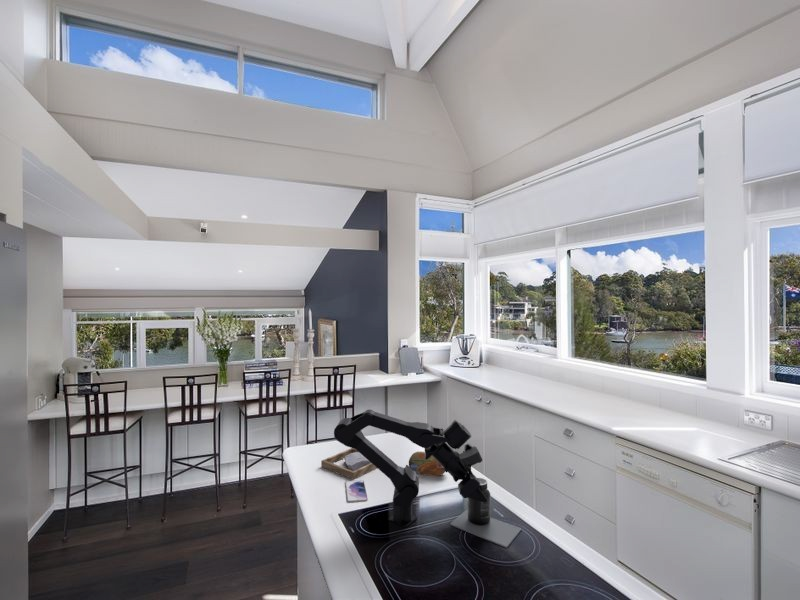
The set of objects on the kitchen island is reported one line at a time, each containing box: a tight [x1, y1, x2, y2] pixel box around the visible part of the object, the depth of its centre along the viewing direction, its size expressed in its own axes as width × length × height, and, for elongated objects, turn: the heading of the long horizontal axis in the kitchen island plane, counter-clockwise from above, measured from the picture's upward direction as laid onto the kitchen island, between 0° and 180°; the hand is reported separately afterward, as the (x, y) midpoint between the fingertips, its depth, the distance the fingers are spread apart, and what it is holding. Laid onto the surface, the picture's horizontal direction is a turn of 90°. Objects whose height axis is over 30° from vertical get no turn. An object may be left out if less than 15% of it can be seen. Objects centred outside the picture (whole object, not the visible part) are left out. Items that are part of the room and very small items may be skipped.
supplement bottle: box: [467, 477, 492, 526], centre depth 124 cm, size 7×7×12 cm
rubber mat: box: [449, 508, 522, 549], centre depth 121 cm, size 11×18×1 cm, turn 52°
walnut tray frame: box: [320, 447, 378, 481], centre depth 164 cm, size 18×18×2 cm
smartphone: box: [344, 479, 369, 504], centre depth 143 cm, size 7×1×15 cm
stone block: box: [344, 452, 371, 471], centre depth 165 cm, size 12×5×10 cm
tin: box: [408, 451, 446, 477], centre depth 157 cm, size 15×3×8 cm, turn 82°
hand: (482, 493), depth 124 cm, fingers open, 9 cm apart
